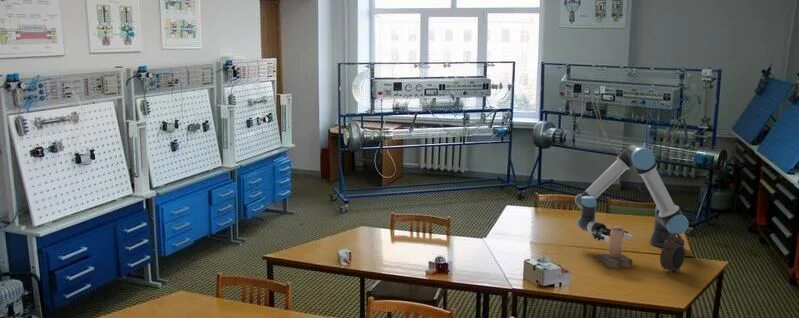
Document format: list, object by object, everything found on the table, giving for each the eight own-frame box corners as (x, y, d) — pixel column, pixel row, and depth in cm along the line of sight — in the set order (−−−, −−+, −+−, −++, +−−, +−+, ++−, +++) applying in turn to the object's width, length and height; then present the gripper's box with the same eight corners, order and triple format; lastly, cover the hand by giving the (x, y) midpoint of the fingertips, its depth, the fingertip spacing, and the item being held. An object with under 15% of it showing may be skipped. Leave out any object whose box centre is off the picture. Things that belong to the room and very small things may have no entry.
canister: (616, 254, 378) (618, 225, 376) (623, 258, 373) (625, 228, 370) (606, 255, 377) (608, 226, 374) (613, 258, 371) (615, 229, 368)
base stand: (618, 260, 383) (619, 252, 382) (631, 266, 372) (632, 259, 371) (597, 261, 379) (597, 254, 378) (610, 268, 368) (610, 261, 367)
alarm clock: (670, 276, 358) (674, 237, 354) (657, 272, 363) (660, 234, 360) (686, 270, 367) (689, 232, 363) (673, 267, 372) (676, 229, 369)
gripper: (616, 234, 394) (640, 244, 374) (576, 237, 387) (598, 247, 367) (617, 220, 393) (641, 230, 373) (577, 223, 386) (599, 233, 366)
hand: (619, 239), depth 370 cm, fingers open, 13 cm apart
